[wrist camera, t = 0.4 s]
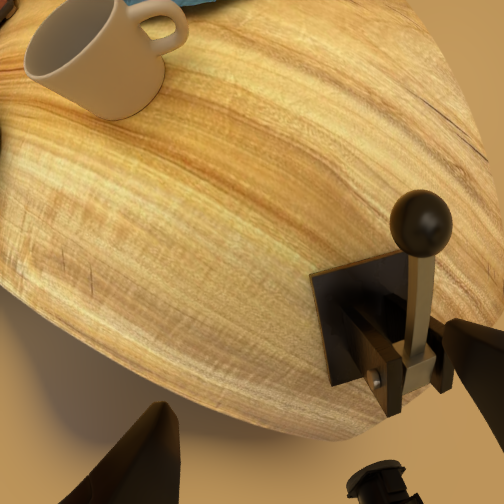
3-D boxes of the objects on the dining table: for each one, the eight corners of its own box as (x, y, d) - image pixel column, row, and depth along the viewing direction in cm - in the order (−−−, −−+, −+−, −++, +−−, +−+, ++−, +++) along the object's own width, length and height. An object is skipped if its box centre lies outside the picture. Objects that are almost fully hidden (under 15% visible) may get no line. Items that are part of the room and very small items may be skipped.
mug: (93, 134, 22) (17, 103, 11) (88, 69, 21) (29, 25, 10) (209, 89, 22) (178, 15, 11) (193, 25, 21) (164, -47, 10)
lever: (375, 189, 12) (409, 205, 9) (426, 179, 12) (465, 192, 9) (380, 370, 17) (396, 403, 14) (418, 355, 17) (438, 384, 14)
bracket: (308, 274, 23) (345, 319, 13) (402, 248, 23) (480, 270, 12) (328, 380, 25) (358, 458, 14) (410, 352, 24) (466, 409, 14)
